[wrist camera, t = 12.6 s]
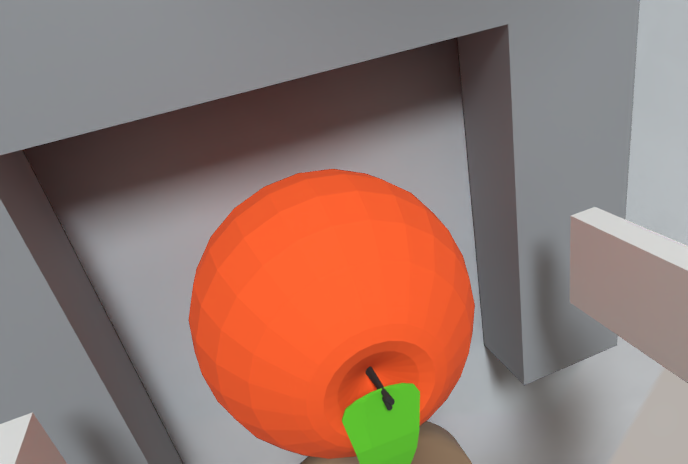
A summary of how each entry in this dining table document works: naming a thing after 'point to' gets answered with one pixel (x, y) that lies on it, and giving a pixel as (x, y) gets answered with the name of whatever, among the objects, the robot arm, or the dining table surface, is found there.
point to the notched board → (276, 67)
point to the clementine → (332, 316)
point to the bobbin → (419, 449)
